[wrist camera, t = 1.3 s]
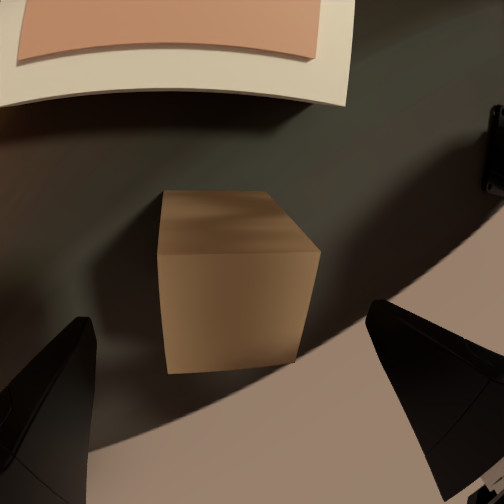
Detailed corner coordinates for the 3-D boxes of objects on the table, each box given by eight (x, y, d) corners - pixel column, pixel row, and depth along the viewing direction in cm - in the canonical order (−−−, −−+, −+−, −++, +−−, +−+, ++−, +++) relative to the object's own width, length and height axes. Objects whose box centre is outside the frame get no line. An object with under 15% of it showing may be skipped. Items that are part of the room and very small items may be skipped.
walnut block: (265, 191, 14) (320, 251, 9) (255, 277, 16) (294, 362, 11) (163, 190, 13) (157, 255, 8) (165, 280, 15) (168, 374, 10)
